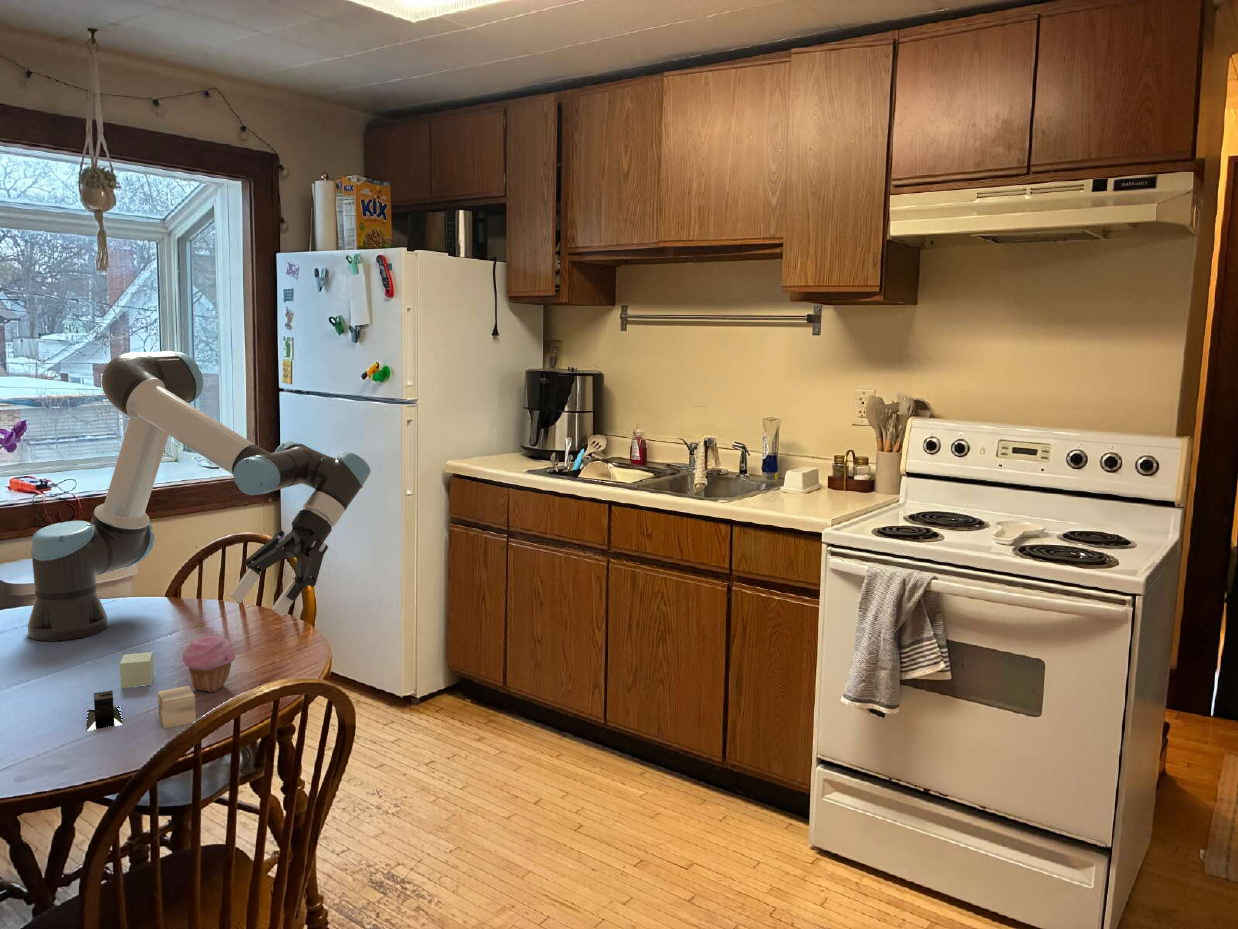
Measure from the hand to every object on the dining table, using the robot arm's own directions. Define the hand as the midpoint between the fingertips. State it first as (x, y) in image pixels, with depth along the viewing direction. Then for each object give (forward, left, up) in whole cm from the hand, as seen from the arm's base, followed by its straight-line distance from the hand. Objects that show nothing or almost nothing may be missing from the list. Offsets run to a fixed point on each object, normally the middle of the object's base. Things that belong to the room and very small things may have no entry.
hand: (255, 606), depth 182 cm
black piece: (+7, -28, -15) cm, 32 cm away
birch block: (+15, -17, -14) cm, 27 cm away
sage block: (-7, -20, -14) cm, 26 cm away
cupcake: (+3, -9, -14) cm, 17 cm away
